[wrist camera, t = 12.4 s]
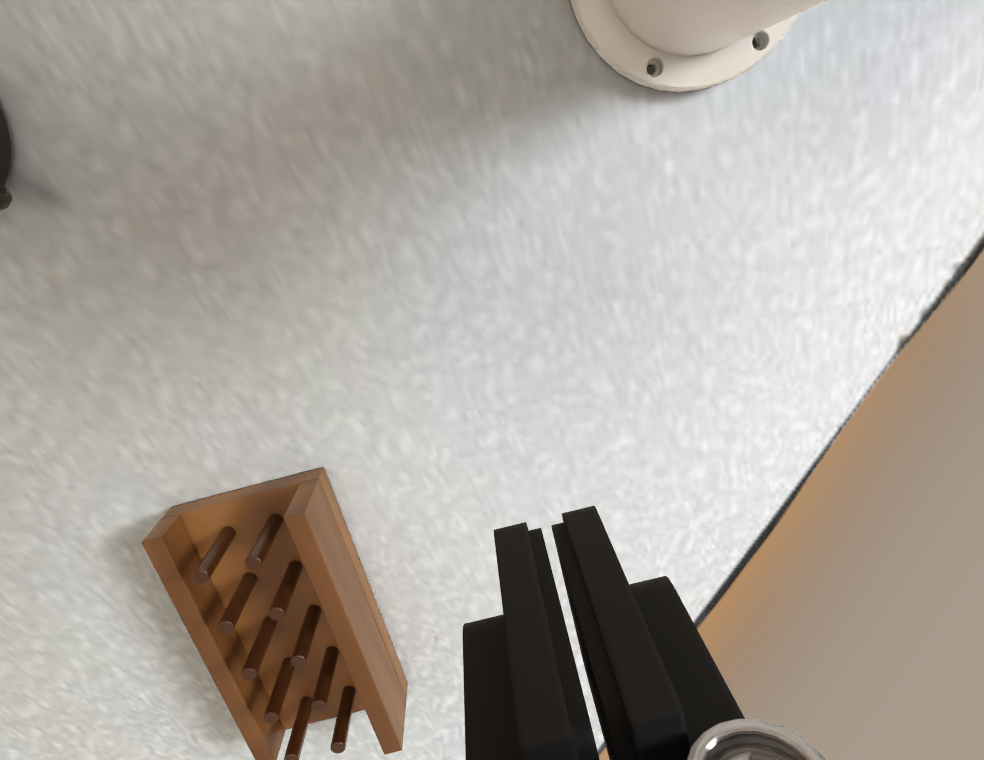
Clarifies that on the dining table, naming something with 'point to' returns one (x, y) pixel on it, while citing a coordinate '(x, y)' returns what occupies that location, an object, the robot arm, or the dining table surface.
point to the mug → (4, 162)
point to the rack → (282, 612)
